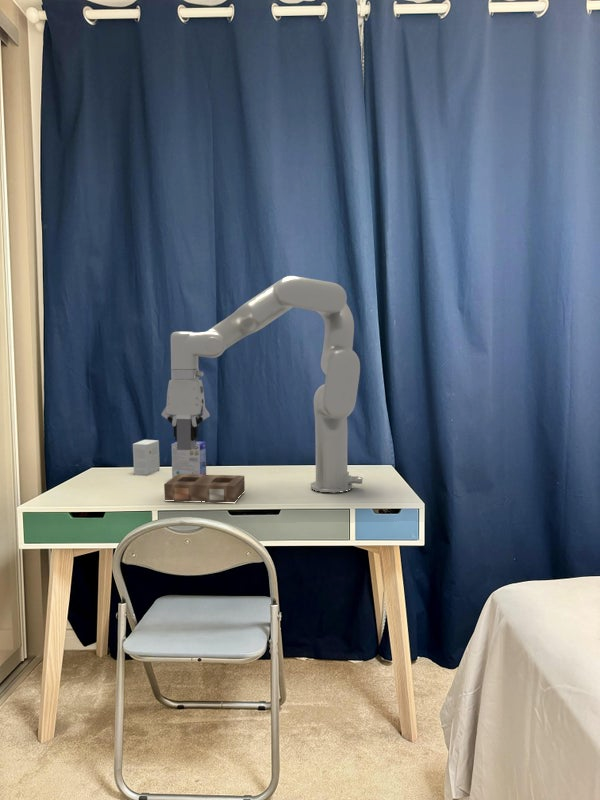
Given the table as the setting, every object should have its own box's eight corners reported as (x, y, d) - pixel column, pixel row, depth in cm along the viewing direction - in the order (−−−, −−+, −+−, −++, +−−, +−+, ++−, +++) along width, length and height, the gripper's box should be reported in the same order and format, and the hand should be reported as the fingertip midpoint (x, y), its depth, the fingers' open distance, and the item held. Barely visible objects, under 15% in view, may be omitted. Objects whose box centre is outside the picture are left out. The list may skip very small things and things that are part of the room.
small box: (145, 469, 208) (144, 439, 207) (160, 470, 207) (159, 440, 206) (133, 474, 201) (132, 443, 199) (148, 475, 199) (147, 444, 198)
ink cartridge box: (207, 478, 194) (206, 434, 192) (201, 482, 189) (200, 437, 187) (178, 477, 196) (177, 433, 194) (171, 481, 191) (170, 436, 189)
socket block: (244, 492, 177) (244, 475, 176) (234, 504, 165) (234, 486, 164) (179, 490, 179) (178, 474, 179) (164, 501, 167) (163, 484, 167)
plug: (195, 447, 173) (194, 413, 172) (190, 450, 169) (190, 414, 168) (181, 447, 174) (181, 412, 172) (177, 449, 170) (176, 414, 169)
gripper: (217, 375, 172) (218, 438, 174) (161, 374, 174) (162, 436, 176) (210, 376, 164) (210, 443, 166) (151, 376, 166) (152, 441, 168)
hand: (186, 439), depth 171 cm, fingers closed on plug, 4 cm apart
